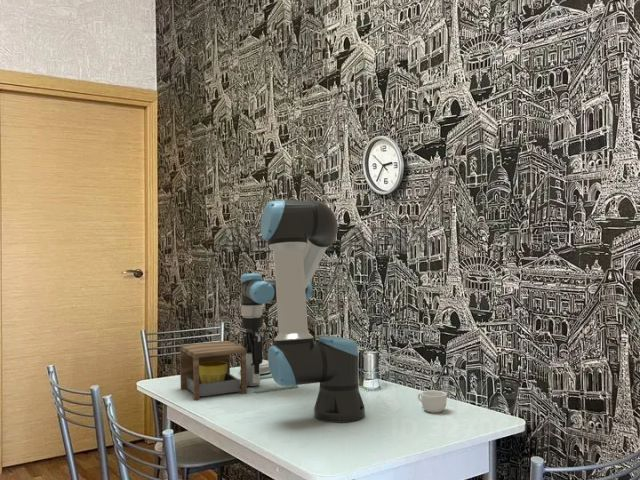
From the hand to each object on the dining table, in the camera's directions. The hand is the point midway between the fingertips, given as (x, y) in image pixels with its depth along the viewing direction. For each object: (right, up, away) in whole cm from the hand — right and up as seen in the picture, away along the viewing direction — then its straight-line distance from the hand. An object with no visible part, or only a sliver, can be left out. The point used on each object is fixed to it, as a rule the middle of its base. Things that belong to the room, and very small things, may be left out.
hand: (253, 380), depth 226 cm
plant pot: (-13, -2, -7) cm, 15 cm away
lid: (-1, -2, +22) cm, 22 cm away
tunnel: (-13, -2, -7) cm, 15 cm away
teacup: (+58, -1, -34) cm, 67 cm away
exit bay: (+5, -2, +2) cm, 5 cm away
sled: (-9, -1, -5) cm, 10 cm away
